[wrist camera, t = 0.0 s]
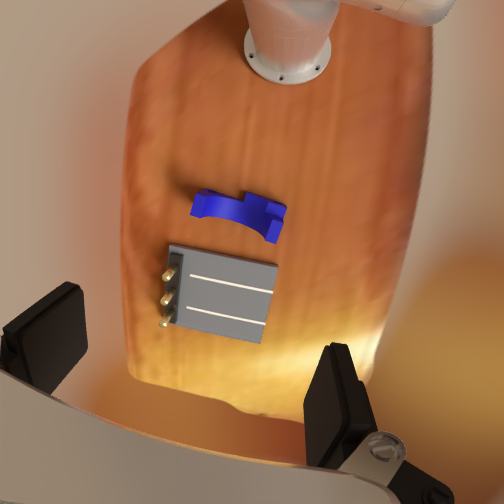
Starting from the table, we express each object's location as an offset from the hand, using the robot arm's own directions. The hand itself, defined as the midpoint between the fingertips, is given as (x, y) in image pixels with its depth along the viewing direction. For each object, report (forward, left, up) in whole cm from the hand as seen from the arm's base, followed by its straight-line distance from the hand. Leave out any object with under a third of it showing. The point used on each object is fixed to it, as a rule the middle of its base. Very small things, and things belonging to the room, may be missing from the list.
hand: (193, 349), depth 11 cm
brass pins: (+16, -10, -36) cm, 40 cm away
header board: (+16, -3, -37) cm, 40 cm away
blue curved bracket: (+1, -2, -37) cm, 37 cm away
